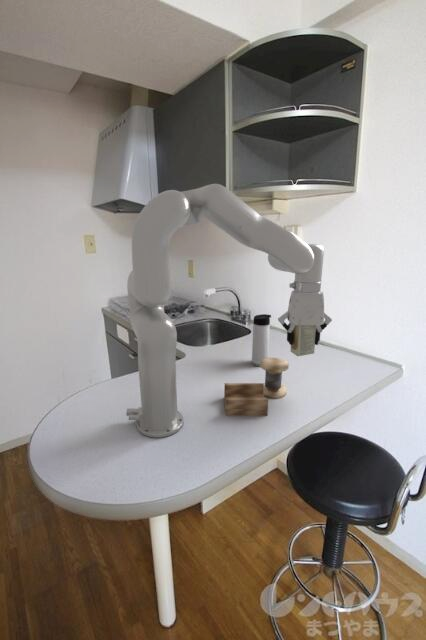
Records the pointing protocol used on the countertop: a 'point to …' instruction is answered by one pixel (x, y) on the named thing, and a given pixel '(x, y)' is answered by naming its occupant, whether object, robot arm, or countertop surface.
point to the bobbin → (274, 377)
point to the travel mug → (260, 338)
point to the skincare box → (303, 340)
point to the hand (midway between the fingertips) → (302, 343)
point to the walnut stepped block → (245, 399)
